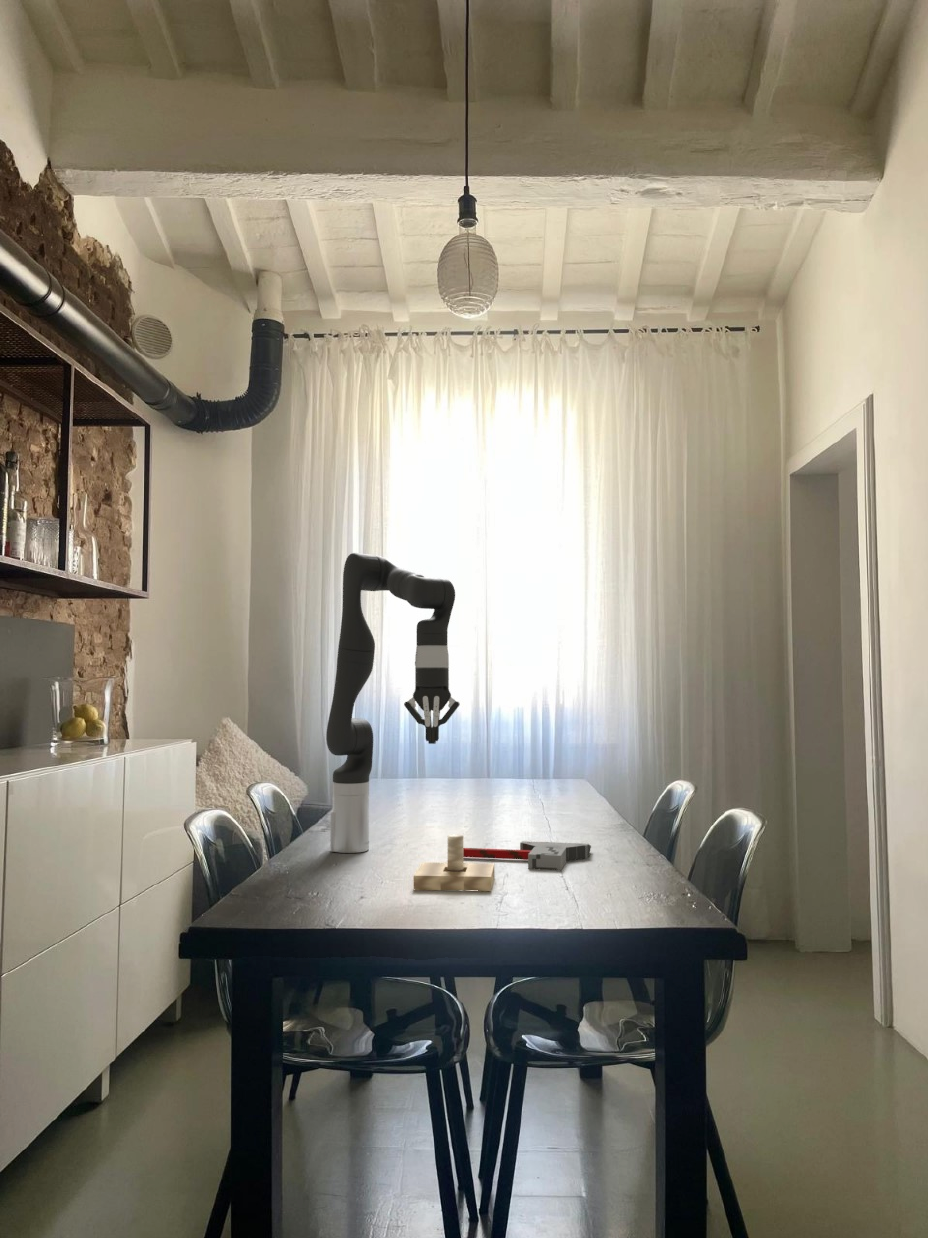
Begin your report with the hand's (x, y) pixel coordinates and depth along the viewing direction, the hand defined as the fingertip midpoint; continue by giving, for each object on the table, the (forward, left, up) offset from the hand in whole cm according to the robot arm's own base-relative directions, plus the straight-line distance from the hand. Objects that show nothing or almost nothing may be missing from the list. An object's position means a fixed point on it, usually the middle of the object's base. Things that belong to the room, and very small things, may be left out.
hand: (432, 743), depth 215 cm
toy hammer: (+20, +20, -30) cm, 41 cm away
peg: (+6, -9, -29) cm, 31 cm away
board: (+6, -9, -29) cm, 31 cm away
